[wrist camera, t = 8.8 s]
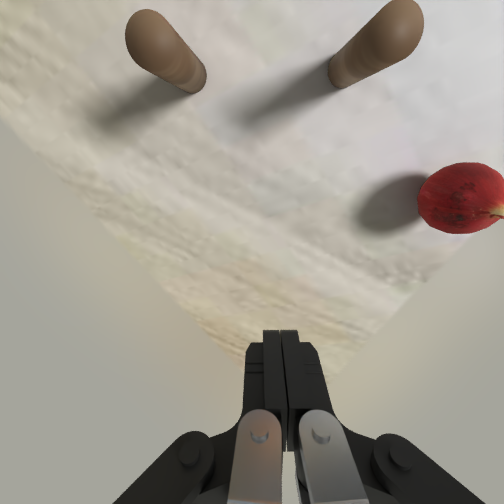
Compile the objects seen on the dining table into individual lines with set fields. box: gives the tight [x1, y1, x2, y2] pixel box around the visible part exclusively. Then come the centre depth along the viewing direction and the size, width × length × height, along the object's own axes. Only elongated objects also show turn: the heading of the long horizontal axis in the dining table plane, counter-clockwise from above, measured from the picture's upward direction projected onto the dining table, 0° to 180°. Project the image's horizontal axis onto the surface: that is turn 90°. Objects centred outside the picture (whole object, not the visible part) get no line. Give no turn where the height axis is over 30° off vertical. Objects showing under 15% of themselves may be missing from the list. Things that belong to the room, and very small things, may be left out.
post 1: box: [125, 9, 207, 93], centre depth 18 cm, size 3×3×9 cm
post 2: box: [328, 0, 424, 88], centre depth 17 cm, size 3×3×9 cm
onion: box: [417, 162, 504, 234], centre depth 22 cm, size 6×6×8 cm
